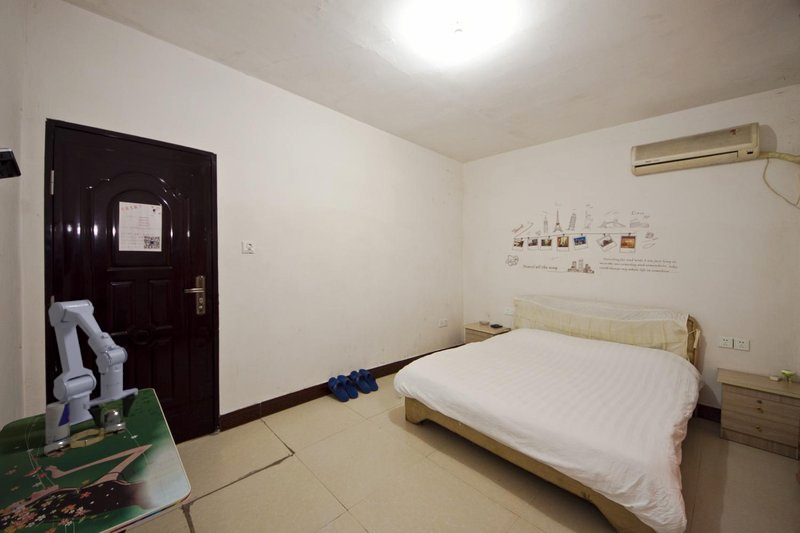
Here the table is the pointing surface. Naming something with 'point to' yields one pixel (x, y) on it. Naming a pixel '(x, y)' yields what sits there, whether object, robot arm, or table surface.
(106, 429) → the shaft
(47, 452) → the shaft
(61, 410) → the energy drink
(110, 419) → the hub
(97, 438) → the collar
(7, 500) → the table surface
